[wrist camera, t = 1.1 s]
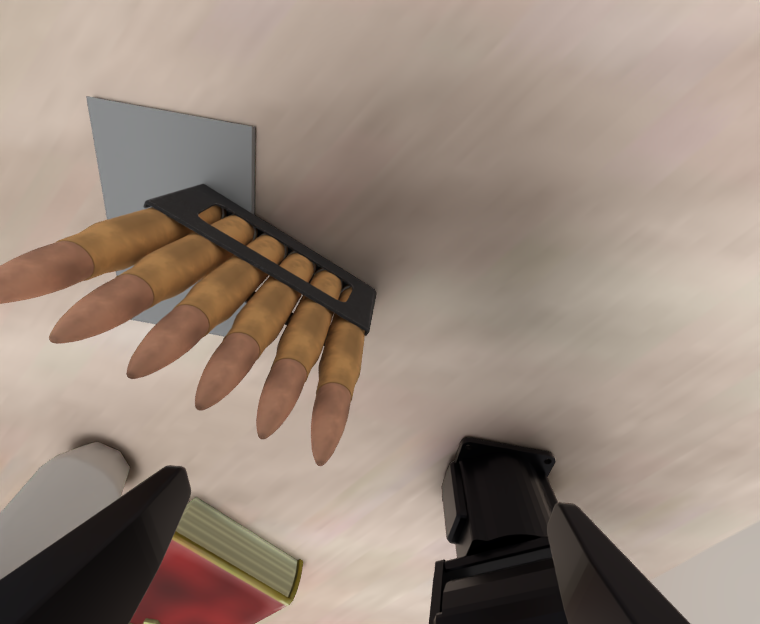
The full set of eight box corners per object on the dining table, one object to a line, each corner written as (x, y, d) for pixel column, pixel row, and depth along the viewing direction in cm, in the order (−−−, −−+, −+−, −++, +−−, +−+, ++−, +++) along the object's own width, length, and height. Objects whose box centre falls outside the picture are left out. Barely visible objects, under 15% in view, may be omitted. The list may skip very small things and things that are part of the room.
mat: (255, 126, 17) (251, 126, 17) (253, 338, 22) (250, 341, 22) (92, 97, 17) (86, 96, 17) (128, 315, 22) (124, 318, 22)
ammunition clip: (377, 290, 20) (367, 458, 9) (360, 314, 21) (333, 496, 10) (201, 182, 18) (-80, 241, 7) (189, 213, 19) (-86, 310, 8)
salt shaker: (152, 462, 28) (-34, 691, 16) (122, 496, 30) (-63, 721, 18) (83, 421, 27) (-175, 638, 15) (57, 459, 29) (-189, 676, 17)
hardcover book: (305, 556, 33) (292, 610, 29) (188, 627, 40) (165, 678, 36) (197, 487, 30) (166, 537, 26) (92, 577, 37) (55, 627, 33)
